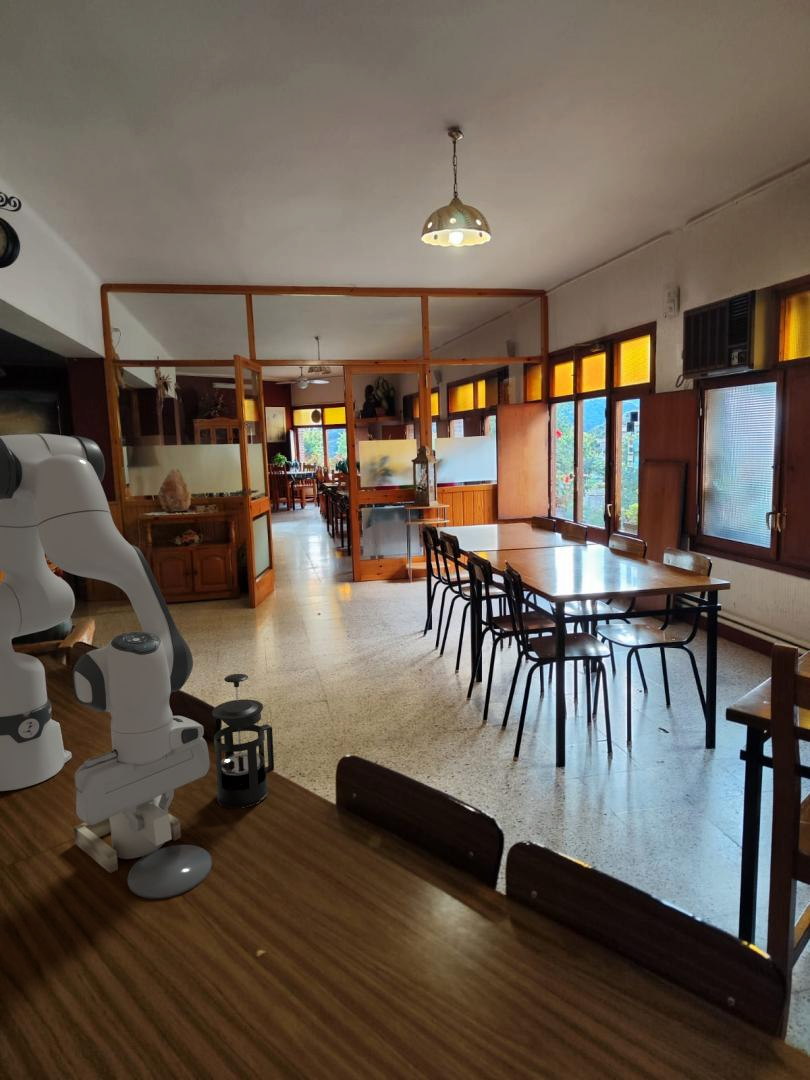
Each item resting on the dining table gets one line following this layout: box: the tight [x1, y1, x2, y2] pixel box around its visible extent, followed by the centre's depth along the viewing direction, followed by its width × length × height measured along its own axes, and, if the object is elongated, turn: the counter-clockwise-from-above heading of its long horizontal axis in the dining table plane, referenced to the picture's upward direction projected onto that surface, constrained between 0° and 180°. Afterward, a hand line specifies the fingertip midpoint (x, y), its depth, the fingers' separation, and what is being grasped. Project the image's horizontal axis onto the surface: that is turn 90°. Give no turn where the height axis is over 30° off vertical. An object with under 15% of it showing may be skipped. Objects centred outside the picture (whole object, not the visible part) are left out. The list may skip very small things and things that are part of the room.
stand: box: [73, 812, 182, 874], centre depth 108 cm, size 12×12×3 cm
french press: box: [212, 673, 275, 809], centre depth 121 cm, size 12×9×23 cm
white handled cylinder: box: [109, 795, 173, 860], centre depth 104 cm, size 14×8×10 cm, turn 44°
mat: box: [127, 844, 213, 900], centre depth 100 cm, size 12×12×1 cm
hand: (149, 823), depth 103 cm, fingers closed on white handled cylinder, 3 cm apart
